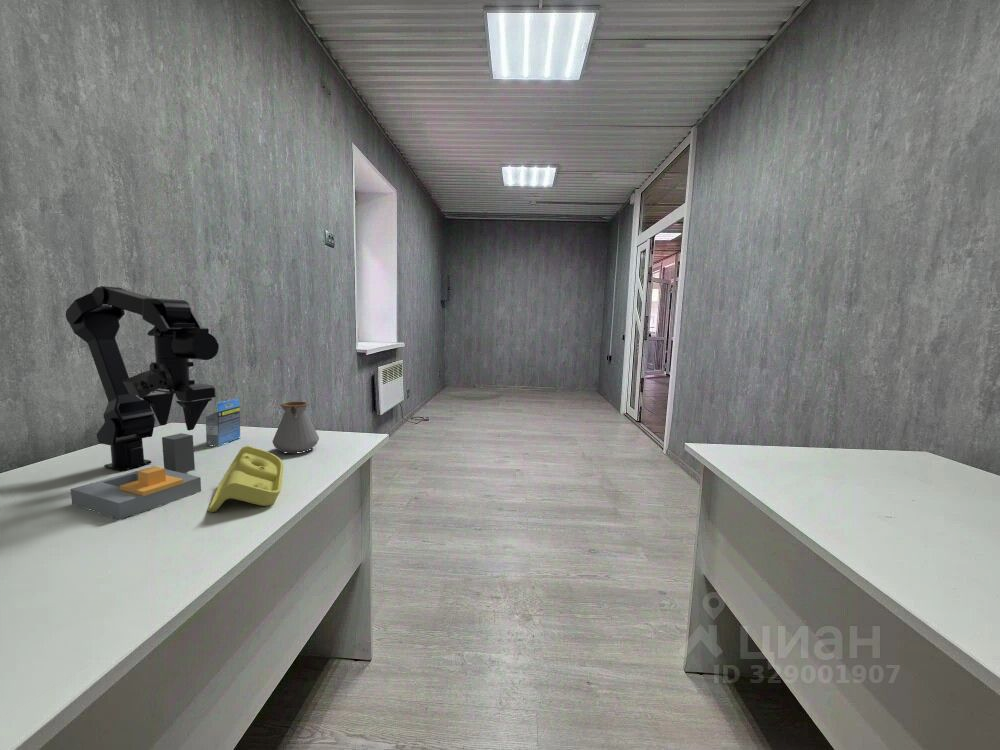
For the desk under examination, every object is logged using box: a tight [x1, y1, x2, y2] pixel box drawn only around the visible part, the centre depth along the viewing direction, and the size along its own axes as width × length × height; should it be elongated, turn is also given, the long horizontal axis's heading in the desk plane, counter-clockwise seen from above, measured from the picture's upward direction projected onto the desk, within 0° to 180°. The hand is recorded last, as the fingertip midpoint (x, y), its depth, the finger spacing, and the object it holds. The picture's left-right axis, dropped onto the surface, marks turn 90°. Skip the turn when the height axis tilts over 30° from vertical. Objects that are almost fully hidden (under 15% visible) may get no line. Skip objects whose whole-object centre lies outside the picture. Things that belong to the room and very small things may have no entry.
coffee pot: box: [272, 401, 320, 453], centre depth 112 cm, size 21×12×15 cm, turn 24°
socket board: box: [70, 465, 202, 520], centre depth 84 cm, size 15×14×3 cm
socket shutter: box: [120, 465, 184, 496], centre depth 82 cm, size 7×7×3 cm
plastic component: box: [207, 445, 284, 513], centre depth 89 cm, size 20×7×10 cm
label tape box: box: [205, 397, 241, 447], centre depth 122 cm, size 9×4×12 cm, turn 174°
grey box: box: [161, 432, 196, 474], centre depth 96 cm, size 4×4×9 cm
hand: (176, 427), depth 95 cm, fingers open, 9 cm apart
